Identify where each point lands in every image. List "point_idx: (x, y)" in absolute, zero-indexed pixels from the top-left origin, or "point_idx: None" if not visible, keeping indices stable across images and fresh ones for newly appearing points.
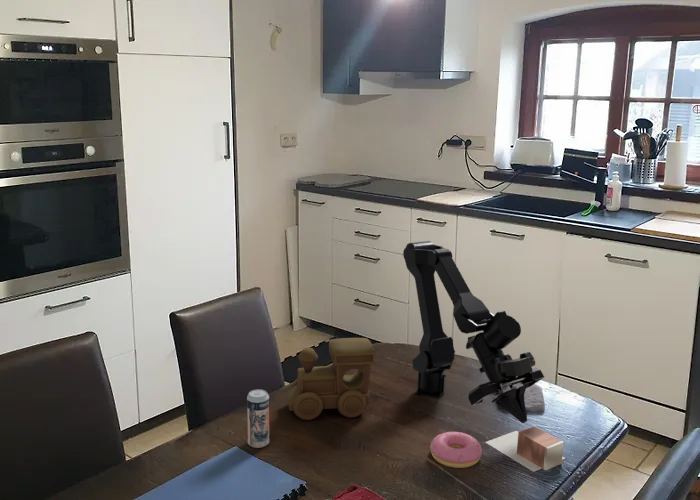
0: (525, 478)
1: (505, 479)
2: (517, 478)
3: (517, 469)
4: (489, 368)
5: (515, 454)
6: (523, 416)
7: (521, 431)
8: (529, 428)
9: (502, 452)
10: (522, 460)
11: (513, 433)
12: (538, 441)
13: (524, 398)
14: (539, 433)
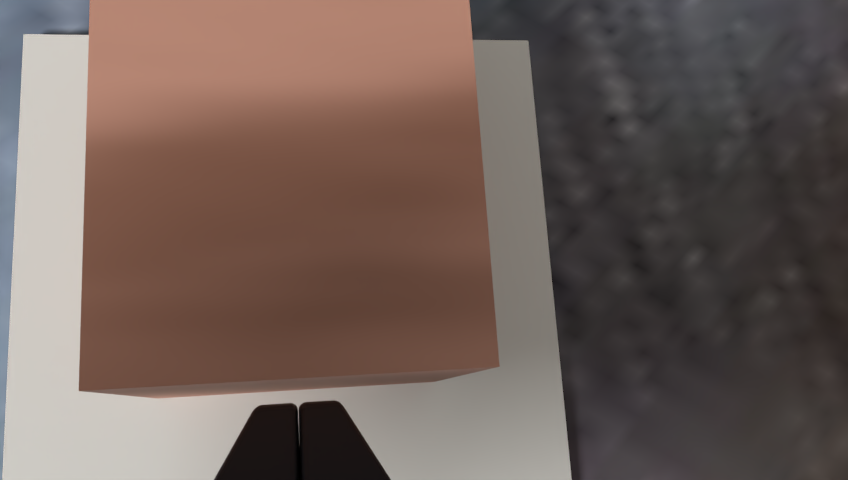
0: (647, 29)
1: (813, 108)
2: (710, 65)
3: (615, 167)
4: None
5: None
6: (331, 470)
7: (437, 358)
8: (229, 371)
9: (567, 471)
10: None
11: None
12: (426, 2)
13: None
14: (217, 156)
